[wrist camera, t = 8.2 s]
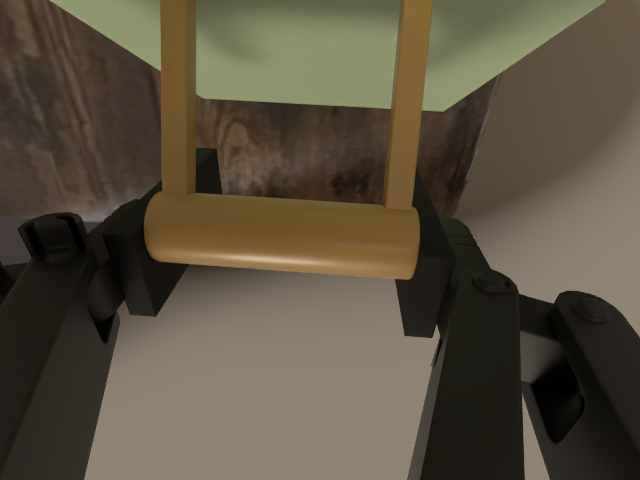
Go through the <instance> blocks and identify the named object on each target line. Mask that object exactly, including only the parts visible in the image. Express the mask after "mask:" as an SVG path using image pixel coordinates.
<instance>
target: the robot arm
mask: <svg viewBox="0 0 640 480" xmlns="http://www.w3.org/2000/svg"><path fill="white" fill-rule="evenodd" d="M160 191H162V180H161V181H160V182H159V183H158V184H157V185H156V186H154V187H153V188H152V189H151V190H150V191H149V192H148V193H147V194H146V195H144V196H143V197H142V198H141V199H135V200H132V201H130V202H128V203H126V204H124V205H122V206H120V207H119V208H118V209H117V210H115V211H114V212H113V213H112V215H110V216H108V217H107V218H106V219H105V220H104V222H101V223H100V224H99V225H98V226H97V227H95V228H94V229H93V230H92V231H91V232H90V233H88V234H87V231H86V228H85V226H84V223H83V220H82V218H81V217H80V216H79V215H78V214H74V213H69V212H63V213H53V214H47V215H43V216H40V217H37V218H34V219H32V220H29V221H28V222H25V223H24V224H22V225H21V226H20V227H19V228H18V231H19V233H20V235H21V237H22V239H23V241H24V243H25V245H26V247H27V249H28V251H29V253H30V255H31V257H32V258H31V259H30V261H29V262H28V263H22V264H14V265H5V266H3V265H2V264H1V262H0V480H84V477H85V472H86V468H87V464H88V460H89V456H90V451H91V447H92V442H93V438H94V434H95V430H96V425H97V421H98V417H99V412H100V408H101V403H102V399H103V395H104V391H105V386H106V382H107V377H108V373H109V369H110V364H111V360H112V356H113V351H114V347H115V343H116V338H117V334H118V329H119V325H120V317H119V315H118V312H117V309H118V307H119V306H120V305H121V304H122V302H123V301H124V300H125V302H126V304H127V307H128V310H129V313H130V315H142V316H154V317H156V316H157V314H158V313H159V311H160V310H161V308H162V306H163V305H164V303H165V302H166V300H167V299H168V297H169V295H170V294H171V292H172V291H173V289H174V287H175V286H176V284H177V282H178V281H179V279H180V278H181V276H182V275H183V273H184V272H185V270H186V269H187V267H188V265H189V264H184V263H170V262H159V261H156V260H154V259H153V258H152V257H151V256H150V255H149V253H148V251H147V248H146V245H145V241H144V218H145V213H146V210H147V207H148V204H149V202H150V200H151V199H152V197H153V196H154V195H155V194H156V193H158V192H160ZM195 193H206V194H221V195H222V188H221V180H220V172H219V165H218V157H217V149H212V148H197V149H196V182H195ZM412 207H414V208H416V210H417V212H418V216H419V222H420V245H419V255H418V260H417V265H416V269H415V272H414V274H413V276H412V278H411V279H409V280H404V279H395V282H396V288H397V294H398V299H399V305H400V311H401V317H402V322H403V328H404V334H405V336H413V337H426V338H432V337H433V334H434V331H435V327H436V324H437V326H438V329H439V333H440V339H439V342H438V345H437V348H436V351H435V354H434V357H433V361H432V364H431V366H432V371H431V375H430V380H429V384H428V389H427V394H426V398H425V402H424V407H423V411H422V416H421V420H420V425H419V429H418V434H417V438H416V443H415V447H414V451H413V456H412V461H411V465H410V469H409V474H408V479H407V480H525V477H524V449H523V448H524V445H523V414H522V394H523V397H524V400H525V403H526V406H527V410H528V413H529V416H530V419H531V422H532V425H533V428H534V430H535V434H536V438H537V440H538V444H539V447H540V450H541V453H542V456H543V459H544V462H545V465H546V469H547V472H548V475H549V478H550V480H640V337H639V336H638V334H637V333H636V332H635V331H634V329H633V328H632V326H631V325H630V324H629V322H628V321H627V320H626V318H625V317H624V316H623V315H622V314H621V313H620V312H619V311H618V310H617V309H616V308H615V307H614V306H613V305H611V304H609V303H608V302H606V301H605V300H603V299H601V298H599V297H596V296H595V295H591V294H588V293H584V292H579V291H565V292H562V293H560V294H559V295H558V297H557V298H556V300H555V302H554V304H553V303H549V302H545V301H541V300H537V299H534V298H531V297H527V296H524V295H521V294H519V292H518V289H517V286H516V285H515V284H514V282H513V281H512V280H511V279H510V278H508V277H507V276H505V275H503V274H502V273H500V272H498V271H495V270H492V269H491V268H490V267H489V265H488V263H487V261H486V259H485V257H484V256H483V254H482V252H481V250H480V248H479V247H478V246H477V243H476V241H475V239H474V238H473V236H472V234H471V232H470V230H469V229H468V227H467V226H466V225H464V224H463V223H462V222H460V221H459V220H458V219H453V218H439V217H438V215H437V213H436V210H435V208H434V206H433V203H432V201H431V199H430V197H429V194H428V192H427V190H426V187H425V185H424V183H423V181H422V178H421V176H420V174H419V171H418V169H417V167H416V171H415V181H414V191H413V200H412Z"/></svg>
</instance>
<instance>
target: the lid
mask: <svg viewBox="0 0 640 480" xmlns="http://www.w3.org/2000/svg"><path fill="white" fill-rule="evenodd" d="M50 1H52V2H53V3H55V4H56V5H58V6H59V7H61V8H63V9H64V10H66V11H67V12H69V13H70V14H72V15H73V16H75V17H77V18H78V19H80V20H81V21H83V22H84V23H86V24H88V25H89V26H91V27H92V28H94V29H95V30H97V31H98V32H100V33H102V34H103V35H105V36H106V37H108V38H109V39H111V40H113V41H114V42H116V43H117V44H119V45H120V46H122V47H124V48H125V49H127V50H128V51H130V52H131V53H133V54H134V55H136V56H138V57H139V58H141V59H142V60H144V61H145V62H147V63H149V64H150V65H152V66H153V67H155V68H156V69H158V70H159V71H161V135H162V191H160V192H158V193H156V194H155V195H154V196H153V197H152V199H151V200H150V202H149V204H148V207H147V210H146V213H145V218H144V241H145V245H146V248H147V251H148V253H149V255H150V256H151V257H152V258H153V259H154V260H156V261H159V262H170V263H184V264H198V265H212V266H225V267H226V266H227V267H239V268H253V269H266V270H267V269H268V270H281V271H294V272H308V273H322V274H336V275H349V276H363V277H377V278H390V279H404V280H409V279H411V278H412V276H413V274H414V272H415V269H416V265H417V260H418V255H419V245H420V222H419V216H418V212H417V210H416V208H414V207H412V200H413V191H414V181H415V171H416V162H417V152H418V143H419V133H420V123H421V114H422V110H424V111H442V112H443V111H445V110H446V109H448V108H449V107H451V106H452V105H454V104H455V103H457V102H458V101H460V100H461V99H463V98H464V97H466V96H467V95H468V94H470V93H471V92H473V91H474V90H476V89H477V88H479V87H480V86H482V85H483V84H485V83H486V82H488V81H489V80H491V79H492V78H493V77H495V76H496V75H498V74H499V73H501V72H502V71H504V70H505V69H507V68H508V67H509V66H511V65H512V64H514V63H516V62H517V61H518V60H520V59H521V58H523V57H524V56H526V55H527V54H529V53H530V52H532V51H533V50H535V49H536V48H537V47H539V46H540V45H542V44H543V43H545V42H546V41H548V40H549V39H551V38H552V37H554V36H555V35H557V34H558V33H560V32H561V31H562V30H564V29H565V28H567V27H568V26H570V25H571V24H572V23H574V22H576V21H577V20H579V19H580V18H582V17H583V16H585V15H586V14H587V13H589V12H590V11H592V10H593V9H595V8H596V7H598V6H599V5H601V4H602V3H604V2H605V1H607V0H50ZM196 94H197V95H199V96H200V97H202V98H205V99H223V100H241V101H259V102H278V103H296V104H314V105H332V106H351V107H369V108H387V109H391V112H390V123H389V134H388V145H387V156H386V167H385V178H384V189H383V200H382V205H375V204H360V203H344V202H329V201H313V200H298V199H283V198H267V197H252V196H236V195H221V194H206V193H195V182H196Z"/></svg>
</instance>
